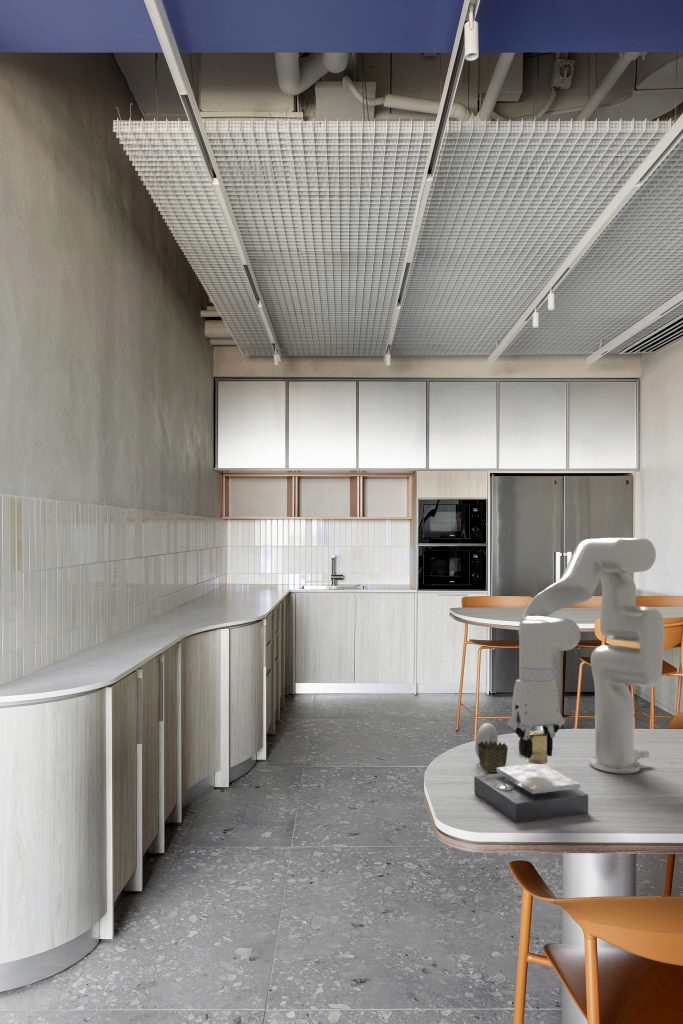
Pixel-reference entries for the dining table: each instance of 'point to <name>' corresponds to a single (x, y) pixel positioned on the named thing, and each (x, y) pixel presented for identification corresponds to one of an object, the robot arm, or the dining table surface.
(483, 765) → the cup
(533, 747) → the brass weight
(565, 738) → the dining table surface
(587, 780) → the dining table surface
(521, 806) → the scale
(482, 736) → the grey rounded slab
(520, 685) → the robot arm
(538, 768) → the scale pan
